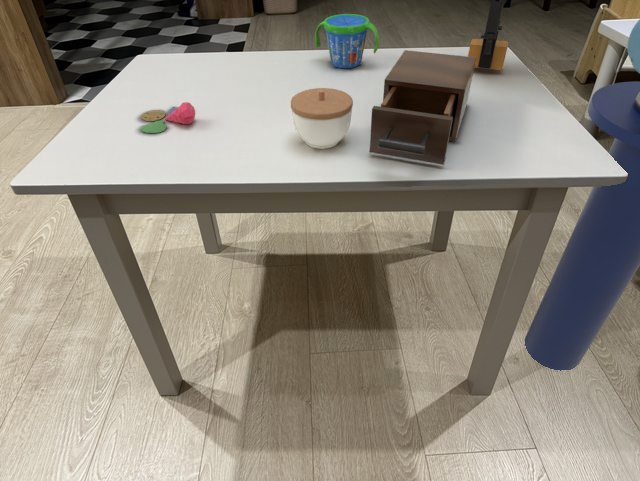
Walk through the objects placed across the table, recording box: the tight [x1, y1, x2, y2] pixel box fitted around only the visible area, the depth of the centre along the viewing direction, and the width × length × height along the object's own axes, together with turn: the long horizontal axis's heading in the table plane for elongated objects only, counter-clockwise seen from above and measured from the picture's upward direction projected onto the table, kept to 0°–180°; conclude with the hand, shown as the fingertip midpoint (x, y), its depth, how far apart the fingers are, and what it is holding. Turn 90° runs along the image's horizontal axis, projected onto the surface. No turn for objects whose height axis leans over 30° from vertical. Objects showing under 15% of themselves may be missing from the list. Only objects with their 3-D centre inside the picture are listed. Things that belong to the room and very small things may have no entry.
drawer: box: [369, 86, 458, 166], centre depth 77 cm, size 20×13×8 cm, turn 159°
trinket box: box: [290, 87, 354, 150], centre depth 80 cm, size 11×11×9 cm
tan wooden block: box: [467, 38, 509, 71], centre depth 105 cm, size 8×4×5 cm, turn 69°
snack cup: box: [314, 13, 380, 69], centre depth 109 cm, size 16×10×10 cm
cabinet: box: [382, 49, 476, 143], centre depth 86 cm, size 16×14×10 cm
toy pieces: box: [140, 101, 196, 134], centre depth 89 cm, size 12×11×4 cm
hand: (485, 63), depth 106 cm, fingers closed on tan wooden block, 4 cm apart
